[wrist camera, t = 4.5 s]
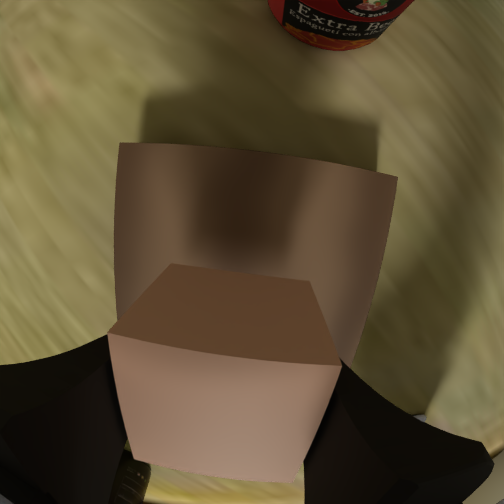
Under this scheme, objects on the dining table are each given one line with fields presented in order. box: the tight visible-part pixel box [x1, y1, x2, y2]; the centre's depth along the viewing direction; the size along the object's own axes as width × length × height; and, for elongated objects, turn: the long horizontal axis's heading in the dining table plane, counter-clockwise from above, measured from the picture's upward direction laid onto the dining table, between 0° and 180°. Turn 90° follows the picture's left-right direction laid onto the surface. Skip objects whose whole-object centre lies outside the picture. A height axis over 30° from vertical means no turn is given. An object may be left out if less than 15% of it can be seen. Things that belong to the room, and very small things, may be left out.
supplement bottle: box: [108, 450, 151, 504], centre depth 19 cm, size 7×7×12 cm
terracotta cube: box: [107, 263, 342, 483], centre depth 9 cm, size 5×5×5 cm
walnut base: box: [114, 143, 398, 368], centre depth 16 cm, size 14×14×3 cm
